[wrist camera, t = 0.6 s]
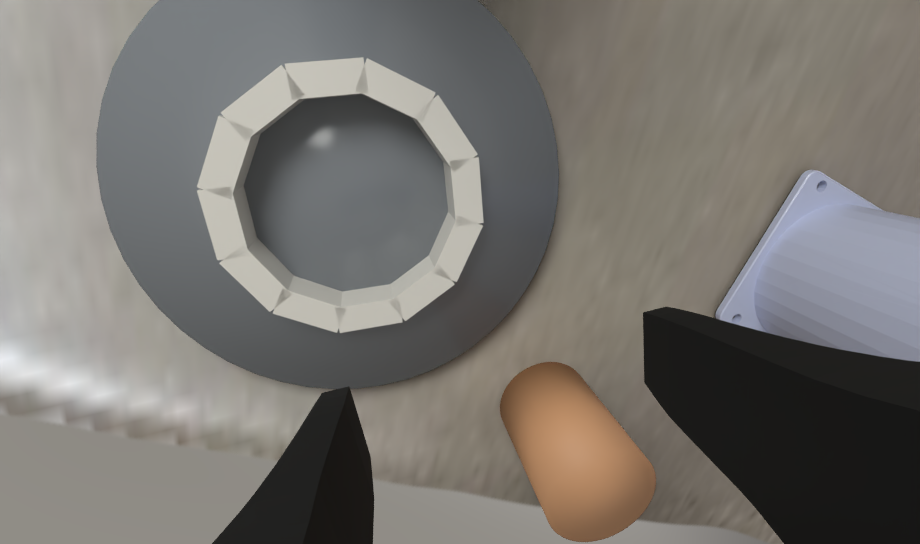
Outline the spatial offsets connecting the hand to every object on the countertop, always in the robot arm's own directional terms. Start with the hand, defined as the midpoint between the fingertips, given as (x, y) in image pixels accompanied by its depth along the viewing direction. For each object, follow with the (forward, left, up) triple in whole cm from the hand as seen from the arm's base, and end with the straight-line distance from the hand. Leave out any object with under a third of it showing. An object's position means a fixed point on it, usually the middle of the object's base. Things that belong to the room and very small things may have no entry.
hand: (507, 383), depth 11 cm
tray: (+4, -1, -9) cm, 10 cm away
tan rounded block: (-8, +5, -9) cm, 13 cm away
